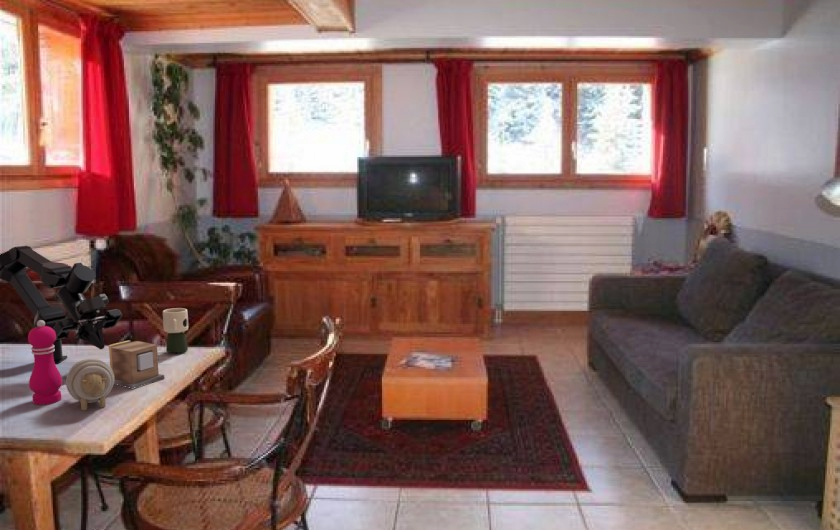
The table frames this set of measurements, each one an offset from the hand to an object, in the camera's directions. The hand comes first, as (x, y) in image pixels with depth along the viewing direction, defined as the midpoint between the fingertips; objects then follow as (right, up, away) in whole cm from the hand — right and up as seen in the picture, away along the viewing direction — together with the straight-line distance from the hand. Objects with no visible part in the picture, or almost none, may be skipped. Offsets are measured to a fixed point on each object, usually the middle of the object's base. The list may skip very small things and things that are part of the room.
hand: (102, 348), depth 199 cm
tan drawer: (+11, -5, -6) cm, 13 cm away
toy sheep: (+8, -11, -23) cm, 27 cm away
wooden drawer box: (+8, -8, -4) cm, 12 cm away
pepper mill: (-4, -10, -21) cm, 24 cm away
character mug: (+13, -4, +22) cm, 26 cm away
